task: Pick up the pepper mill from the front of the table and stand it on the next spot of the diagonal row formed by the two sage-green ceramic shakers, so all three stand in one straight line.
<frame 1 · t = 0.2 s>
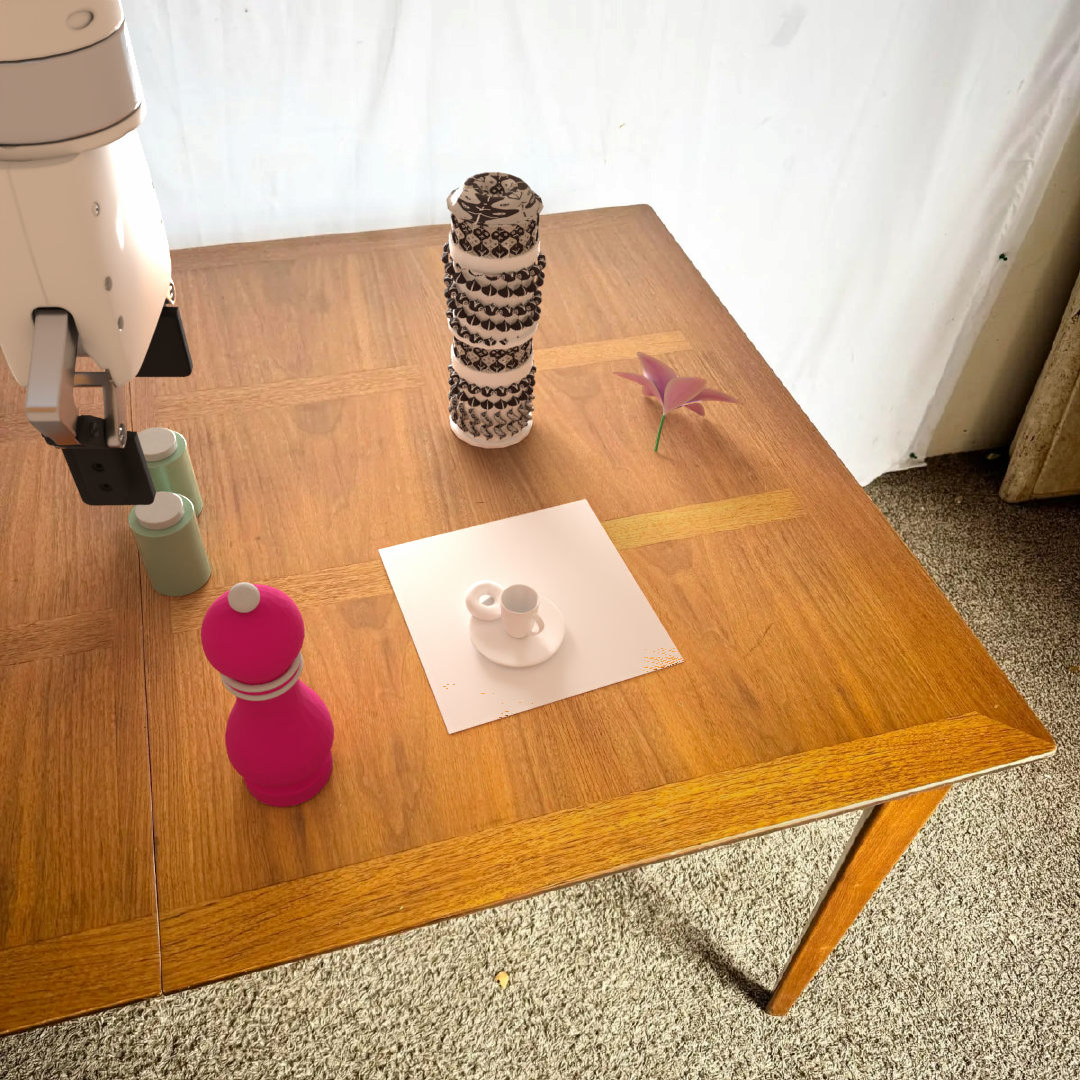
hand: (143, 433, 48), 30 cm above the table, tool pointing down, fingers open, 9 cm apart
patterned beaded cylinder: (490, 423, 98), on the table
teacup and saucer: (525, 604, 81), on the table
shaker far: (174, 508, 87), on the table
shaker mid: (180, 574, 81), on the table
pepper mill: (289, 770, 69), on the table
lily: (666, 428, 98), on the table
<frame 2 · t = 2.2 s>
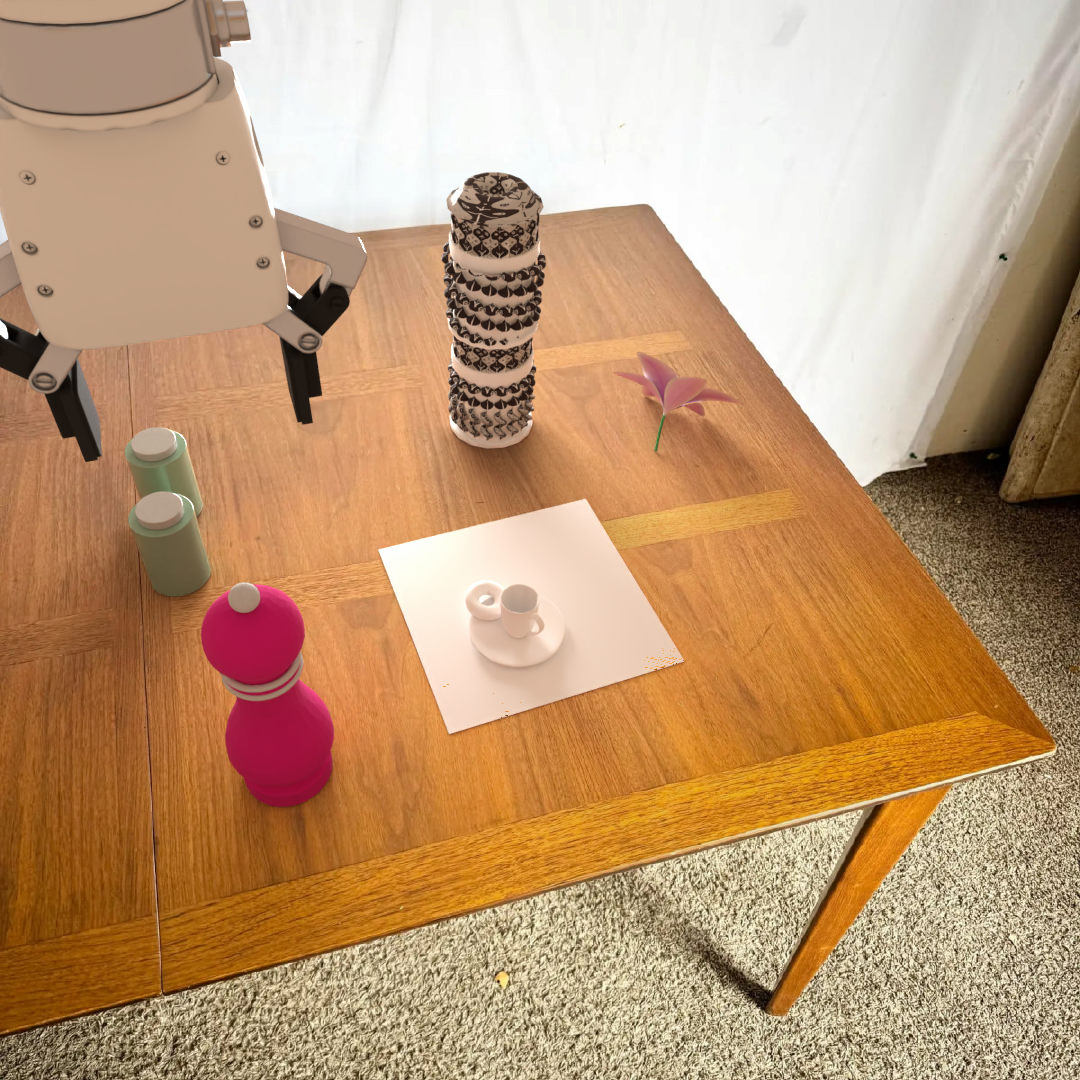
hand: (200, 424, 46), 32 cm above the table, tool pointing down, fingers open, 9 cm apart
nothing on the table moved.
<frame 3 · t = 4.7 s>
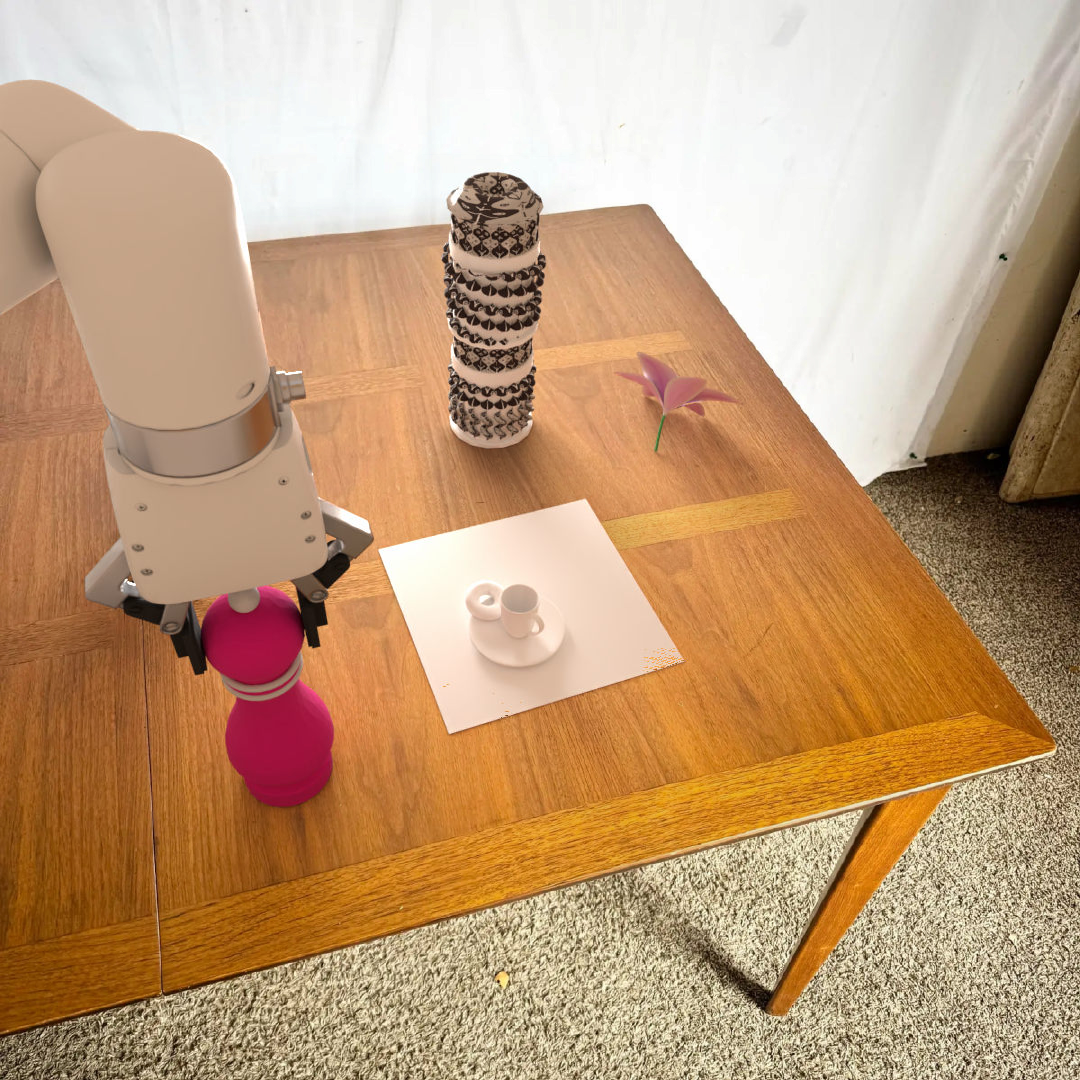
hand: (255, 641, 58), 15 cm above the table, tool pointing down, fingers closed on pepper mill, 6 cm apart
pepper mill: (289, 770, 69), on the table, touching gripper
everything else where it was.
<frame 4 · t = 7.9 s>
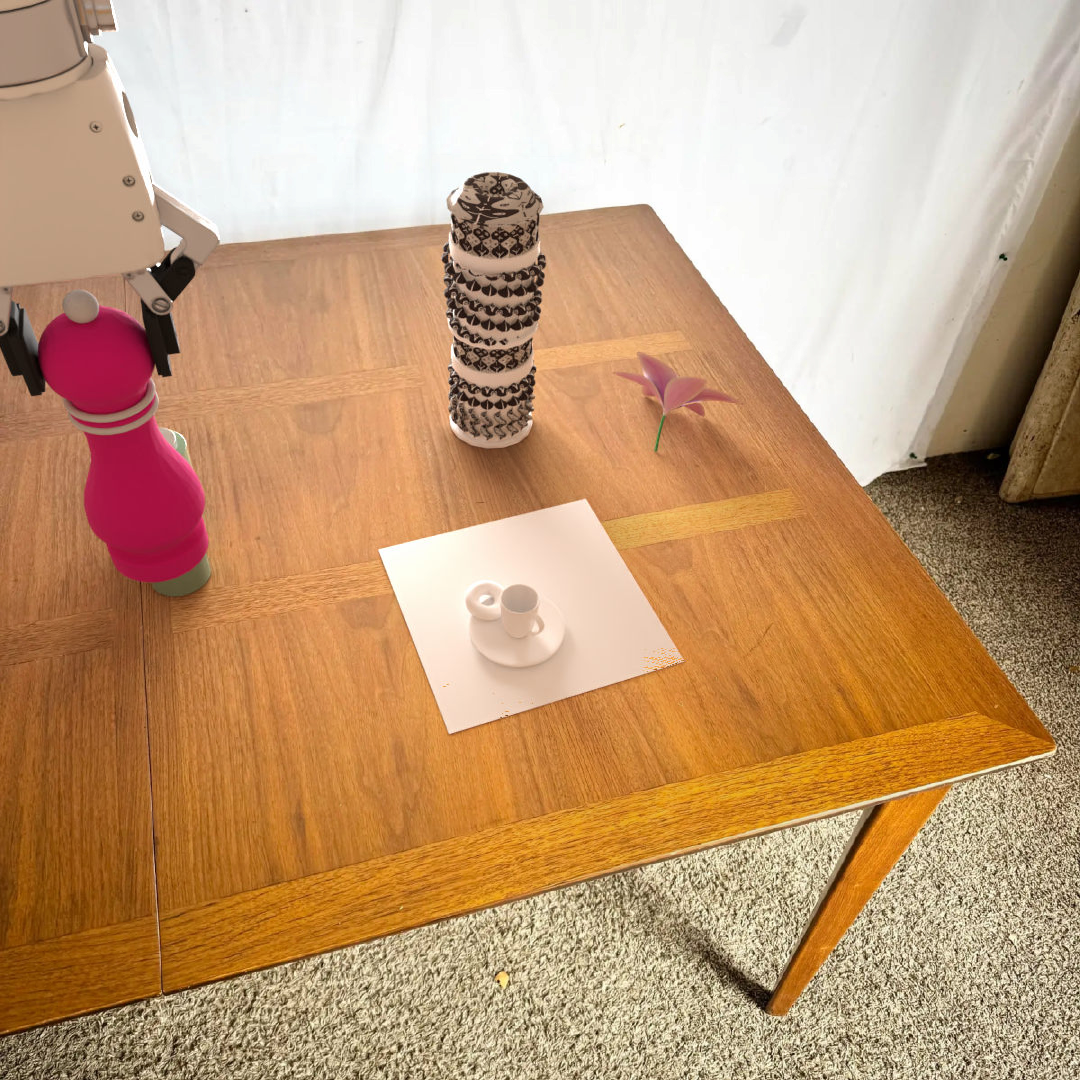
hand: (101, 369, 54), 28 cm above the table, tool pointing down, fingers closed on pepper mill, 6 cm apart
pepper mill: (162, 551, 65), point 13 cm above the table, touching gripper
everything else where it was.
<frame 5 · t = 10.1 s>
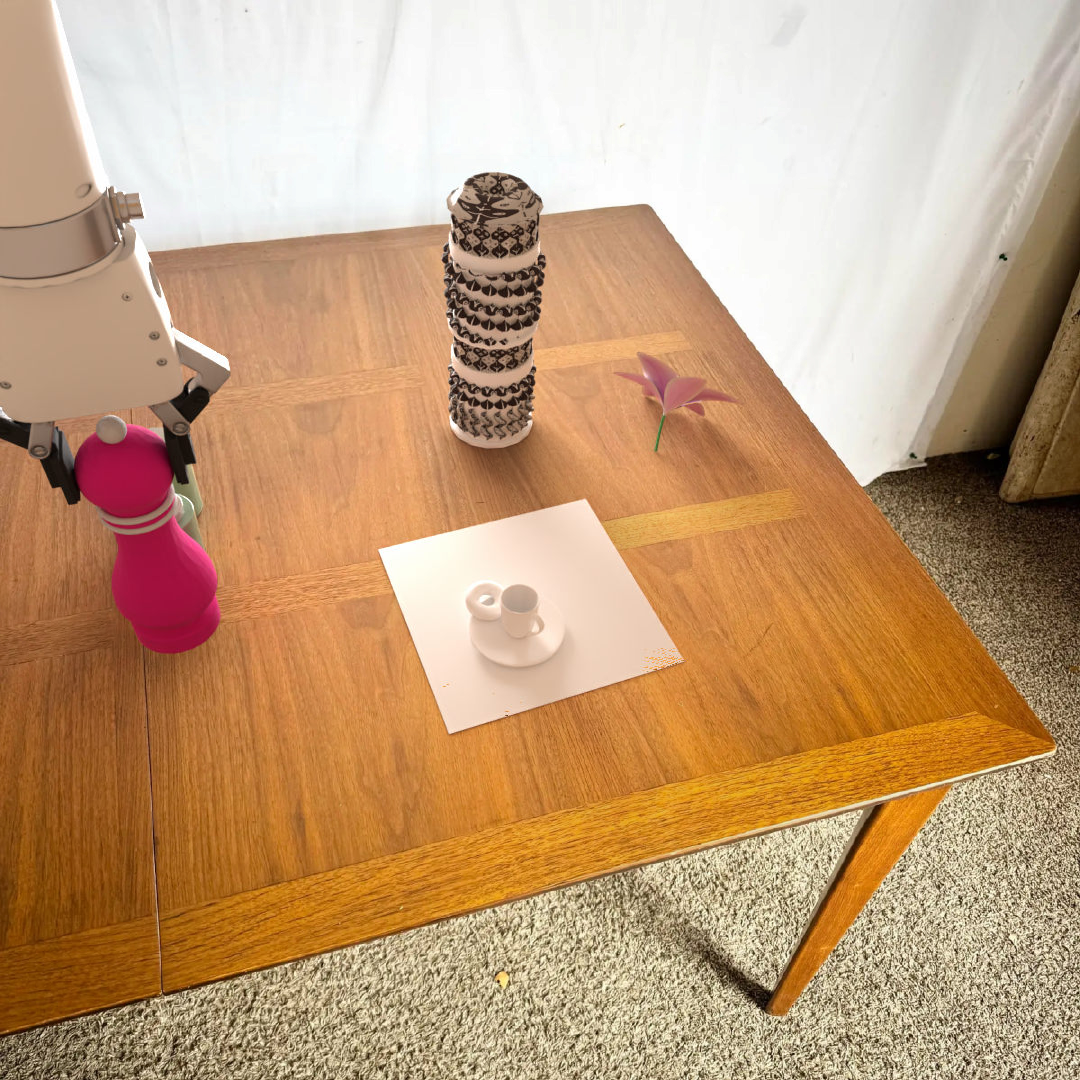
hand: (128, 478, 63), 18 cm above the table, tool pointing down, fingers closed on pepper mill, 6 cm apart
pepper mill: (179, 623, 74), point 3 cm above the table, touching gripper
everything else where it was.
when the fingers open (15 cm above the table, at t = 11.5 s): pepper mill stays where it is, on the table.
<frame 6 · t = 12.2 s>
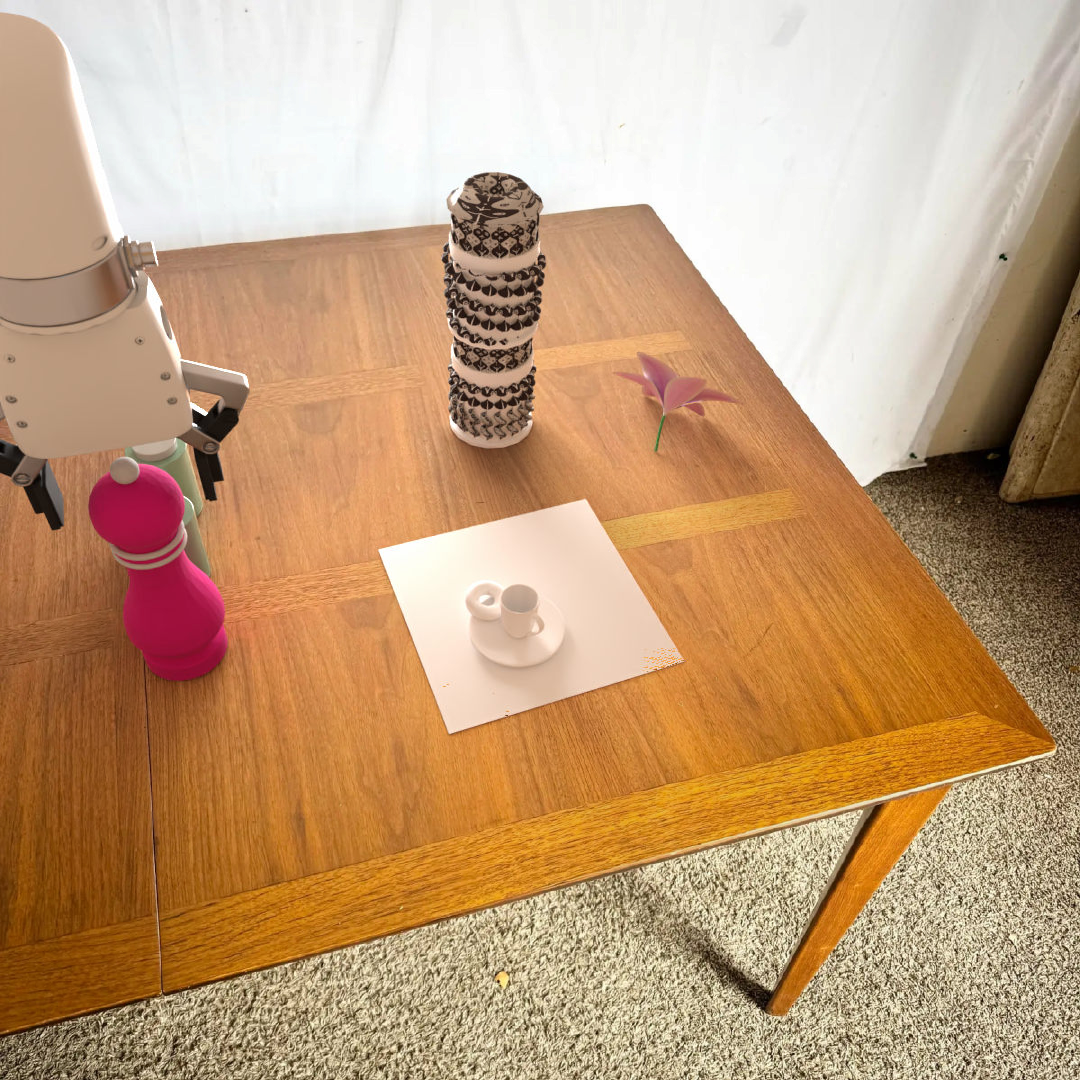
hand: (135, 501, 64), 16 cm above the table, tool pointing down, fingers open, 9 cm apart
pepper mill: (187, 651, 76), on the table
everything else where it was.
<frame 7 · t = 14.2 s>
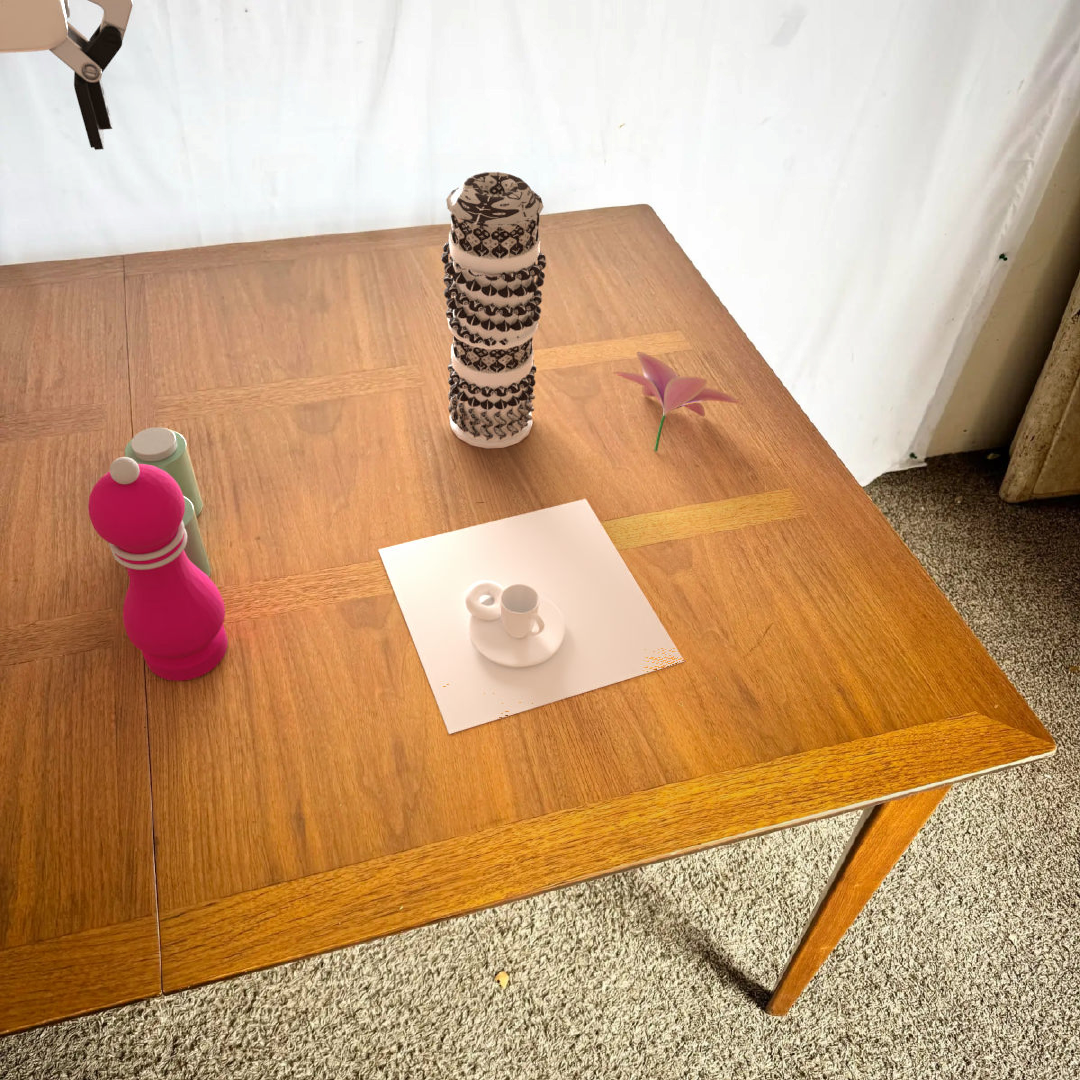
hand: (14, 145, 59), 35 cm above the table, tool pointing down, fingers open, 9 cm apart
nothing on the table moved.
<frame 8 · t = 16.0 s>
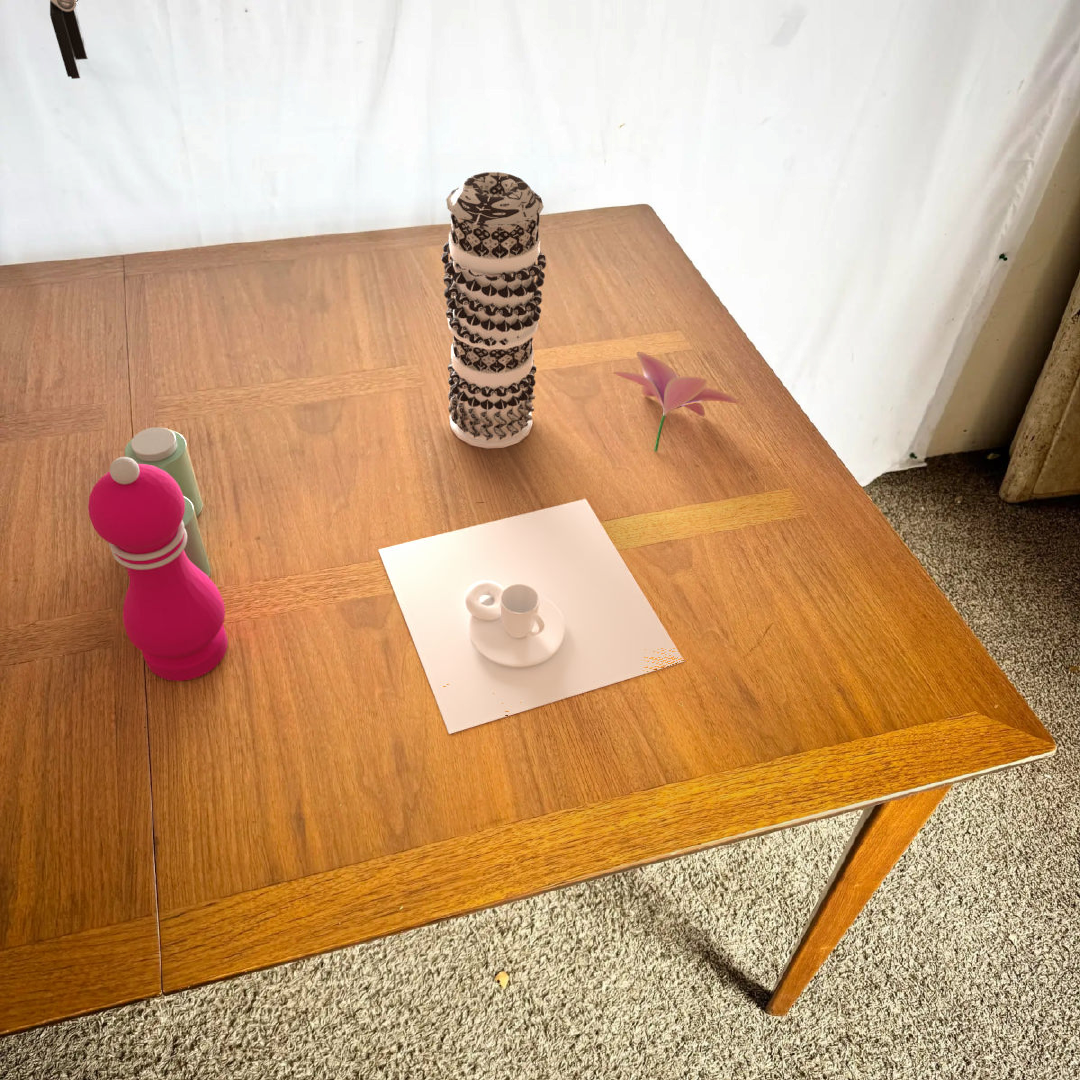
nothing on the table moved.
at the end: pepper mill 0.1 cm from the target spot on the table beside the shaker far, on the table; pepper mill tilted 0° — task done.
